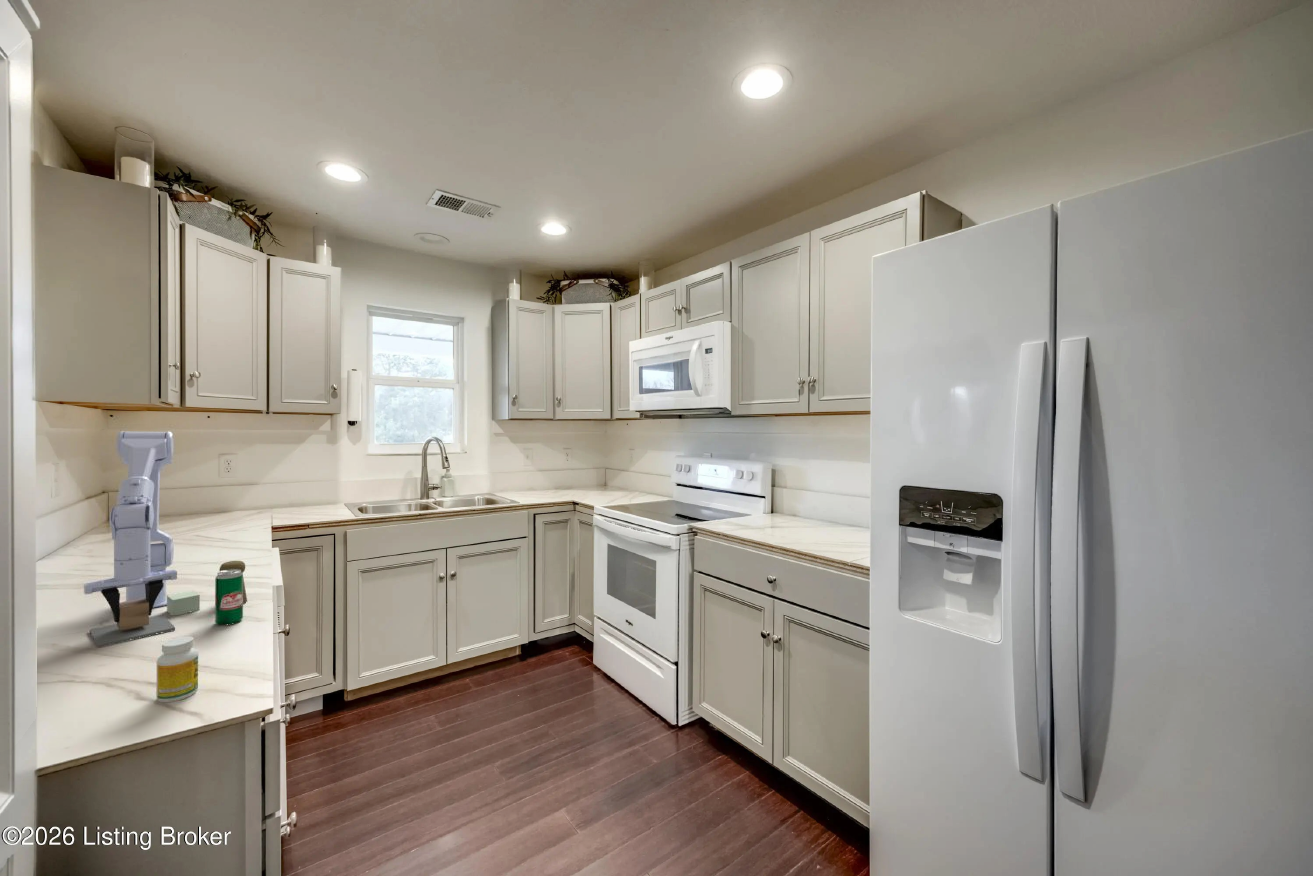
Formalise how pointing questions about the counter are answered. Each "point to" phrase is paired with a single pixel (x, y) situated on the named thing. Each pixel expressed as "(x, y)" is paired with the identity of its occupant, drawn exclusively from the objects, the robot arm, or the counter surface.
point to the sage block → (183, 602)
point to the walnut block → (133, 614)
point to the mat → (130, 631)
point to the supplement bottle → (177, 670)
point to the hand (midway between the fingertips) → (132, 617)
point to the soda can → (228, 597)
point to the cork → (235, 565)
